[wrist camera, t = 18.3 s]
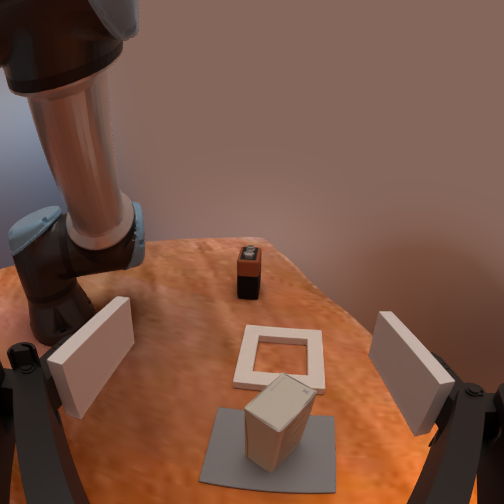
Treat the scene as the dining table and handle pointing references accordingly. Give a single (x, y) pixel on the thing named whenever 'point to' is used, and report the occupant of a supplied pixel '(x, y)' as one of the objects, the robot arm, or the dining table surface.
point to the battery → (249, 272)
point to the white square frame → (311, 338)
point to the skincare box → (277, 421)
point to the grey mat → (286, 474)
